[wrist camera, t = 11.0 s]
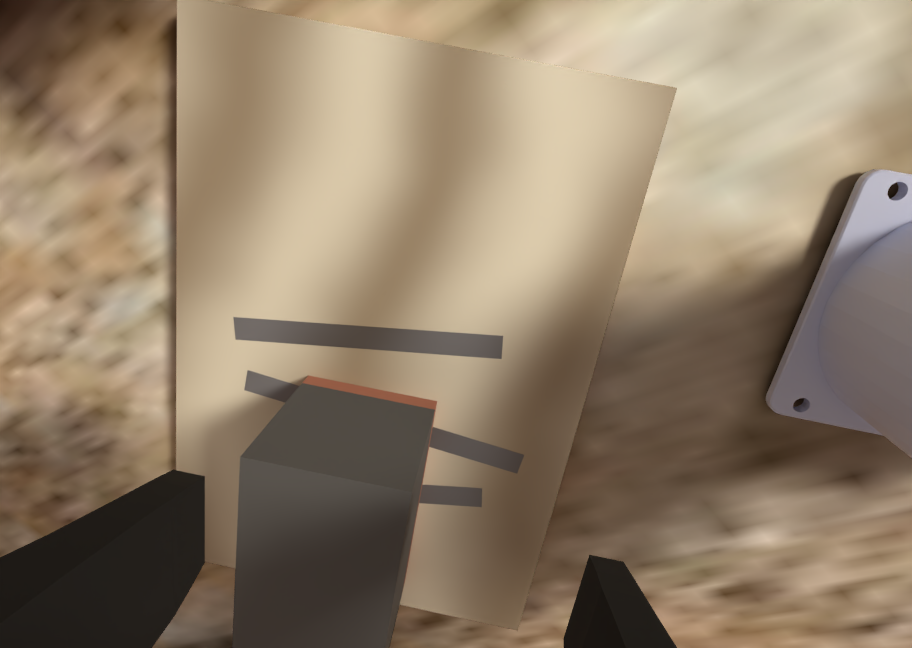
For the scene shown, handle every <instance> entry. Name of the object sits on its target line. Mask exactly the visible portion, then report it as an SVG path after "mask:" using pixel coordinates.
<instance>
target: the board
mask: <svg viewBox="0 0 912 648" xmlns="http://www.w3.org/2000/svg"><path fill="white" fill-rule="evenodd" d="M676 90H677V88H674V87H669V86H664V85H658V84H653V83H648V82H642V81H637V80H632V79H626V78H621V77H615V76H610V75H605V74H599V73H594V72H589V71H583V70H578V69H573V68H567V67H562V66H557V65H551V64H546V63H541V62H535V61H530V60H524V59H519V58H514V57H508V56H503V55H498V54H492V53H487V52H482V51H476V50H471V49H466V48H460V47H455V46H449V45H444V44H439V43H433V42H428V41H423V40H417V39H412V38H407V37H401V36H396V35H391V34H385V33H380V32H375V31H369V30H364V29H358V28H353V27H348V26H342V25H337V24H332V23H326V22H321V21H316V20H310V19H305V18H300V17H294V16H289V15H284V14H278V13H273V12H267V11H262V10H257V9H251V8H246V7H241V6H235V5H230V4H225V3H219V2H214V1H209V0H177V227H176V470H177V471H182V472H187V473H192V474H197V475H202V476H205V562H208V563H212V564H217V565H221V566H226V567H231V568H235V569H236V545H237V520H238V496H239V471H240V456H241V455H242V454H243V453H244V452H245V450H246V449H247V448H248V447H249V446H250V444H251V443H252V442H253V441H254V440H255V438H256V437H257V436H258V435H259V434H260V433H261V431H262V430H263V429H264V428H265V427H266V425H267V424H268V423H269V422H270V421H271V419H272V418H273V417H274V416H275V415H276V413H277V412H278V411H279V410H280V409H281V408H282V406H283V405H284V404H285V403H286V402H287V400H288V399H289V398H290V397H291V396H292V394H293V393H294V392H295V391H296V390H297V388H298V387H299V386H300V385H301V384H302V383H303V381H304V380H305V379H306V378H307V377H308V375H309V376H314V377H319V378H324V379H329V380H334V381H339V382H344V383H349V384H354V385H359V386H364V387H369V388H374V389H379V390H384V391H389V392H394V393H399V394H404V395H409V396H414V397H419V398H424V399H429V400H434V401H437V406H436V411H435V417H434V423H433V428H432V434H431V439H430V445H429V450H428V456H427V462H426V467H425V473H424V478H423V484H422V489H421V495H420V501H419V506H418V512H417V517H416V523H415V529H414V534H413V540H412V545H411V551H410V556H409V562H408V568H407V573H406V579H405V584H404V588H403V592H402V596H401V600H400V605H403V606H408V607H412V608H417V609H422V610H426V611H431V612H435V613H440V614H444V615H449V616H453V617H458V618H462V619H467V620H472V621H476V622H481V623H485V624H490V625H494V626H499V627H503V628H508V629H512V630H517V631H518V628H519V624H520V621H521V617H522V614H523V611H524V607H525V604H526V600H527V597H528V594H529V590H530V587H531V583H532V580H533V577H534V573H535V570H536V566H537V563H538V560H539V556H540V553H541V549H542V546H543V543H544V539H545V536H546V532H547V529H548V525H549V522H550V519H551V515H552V512H553V508H554V505H555V502H556V498H557V495H558V491H559V488H560V485H561V481H562V478H563V474H564V471H565V468H566V464H567V461H568V457H569V454H570V451H571V447H572V444H573V440H574V437H575V434H576V430H577V427H578V423H579V420H580V417H581V413H582V410H583V406H584V403H585V399H586V396H587V393H588V389H589V386H590V382H591V379H592V376H593V372H594V369H595V365H596V362H597V359H598V355H599V352H600V348H601V345H602V342H603V338H604V335H605V331H606V328H607V325H608V321H609V318H610V314H611V311H612V308H613V304H614V301H615V297H616V294H617V290H618V287H619V284H620V280H621V277H622V273H623V270H624V267H625V263H626V260H627V256H628V253H629V250H630V246H631V243H632V239H633V236H634V233H635V229H636V226H637V222H638V219H639V216H640V212H641V209H642V205H643V202H644V199H645V195H646V192H647V188H648V185H649V182H650V178H651V175H652V171H653V168H654V164H655V161H656V158H657V154H658V151H659V147H660V144H661V141H662V137H663V134H664V130H665V127H666V124H667V120H668V117H669V113H670V110H671V107H672V103H673V100H674V96H675V93H676Z"/></svg>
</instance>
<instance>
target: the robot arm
mask: <svg viewBox="0 0 912 648" xmlns="http://www.w3.org/2000/svg"><path fill="white" fill-rule="evenodd" d="M894 183H897V184H898V186H899V188H898V192H897V194H896V195H895V196H894V197H892V198H890V199H889V197H888V195H887V194H888V189H889V188H890V186H891V185H892V184H894ZM800 398H804V402H803V403H802V404H801V405H799V406H797V407H793V403H794V402H795V401H796V400H798V399H800ZM766 402H767V405H768V406H769V407H770V408H771V409H772V410H773V411H774V412H775V413H777V414H780V415H784V416H789V417H794V418H799V419H804V420H809V421H814V422H819V423H824V424H828V425H833V426H838V427H843V428H848V429H853V430H858V431H863V432H868V433H873V434H877V435H882V436H885V437H886V438H887V439H888V440H890V441H891V442H892V443H893V444H895V445H896V446H897V447H898V448H899V449H901V450H902V451H903V452H904V453H906V454H907V455H908V456H909V457H911V458H912V175H911V174H905V173H900V172H895V171H889V170H882V169H873V170H870V171H867V172H865V173H864V174H863V175H862V176H860V177H859V179H858V180H857V182H856V183H855V186H854V188H853V190H852V193H851V195H850V197H849V200H848V202H847V205H846V207H845V209H844V212H843V214H842V216H841V219H840V221H839V224H838V226H837V228H836V231H835V233H834V235H833V238H832V240H831V243H830V245H829V247H828V250H827V252H826V254H825V257H824V259H823V262H822V264H821V266H820V269H819V271H818V273H817V276H816V278H815V281H814V283H813V285H812V288H811V290H810V292H809V295H808V297H807V300H806V302H805V304H804V307H803V309H802V311H801V314H800V316H799V319H798V321H797V323H796V326H795V328H794V331H793V333H792V335H791V338H790V340H789V342H788V345H787V347H786V350H785V352H784V354H783V357H782V359H781V361H780V364H779V366H778V369H777V371H776V373H775V376H774V378H773V380H772V383H771V385H770V388H769V390H768V392H767V395H766ZM204 563H205V476H202V475H197V474H192V473H187V472H182V471H177V470H172V471H170V472H168V473H166V474H164V475H162V476H160V477H158V478H156V479H154V480H152V481H150V482H148V483H146V484H144V485H142V486H140V487H138V488H137V489H135V490H133V491H131V492H129V493H127V494H125V495H123V496H121V497H120V498H118V499H116V500H114V501H112V502H110V503H108V504H106V505H104V506H103V507H101V508H99V509H97V510H95V511H93V512H91V513H89V514H87V515H85V516H83V517H81V518H79V519H78V520H76V521H74V522H72V523H70V524H68V525H66V526H64V527H62V528H60V529H58V530H56V531H54V532H52V533H50V534H48V535H47V536H44V537H42V538H40V539H38V540H36V541H34V542H32V543H30V544H28V545H26V546H24V547H21V548H19V549H17V550H15V551H13V552H11V553H9V554H7V555H5V556H3V557H1V558H0V648H152V647H153V645H154V644H155V642H156V641H157V640H158V638H159V637H160V635H161V634H162V633H163V631H164V630H165V628H166V627H167V626H168V624H169V623H170V621H171V620H172V619H173V617H174V616H175V614H176V612H177V611H178V609H179V607H180V605H181V604H182V602H183V600H184V599H185V597H186V595H187V593H188V592H189V590H190V588H191V586H192V584H193V583H194V581H195V579H196V577H197V575H198V574H199V572H200V570H201V568H202V566H203V564H204ZM564 648H677V647H676V645H675V644H674V642H673V641H672V639H671V638H670V636H669V634H668V633H667V631H666V630H665V628H664V626H663V625H662V623H661V622H660V620H659V618H658V617H657V615H656V614H655V612H654V610H653V609H652V607H651V606H650V604H649V602H648V601H647V599H646V597H645V596H644V594H643V592H642V591H641V589H640V588H639V586H638V584H637V583H636V581H635V579H634V578H633V576H632V575H631V573H630V571H629V570H628V568H627V567H626V565H625V564H624V562H622V561H617V560H612V559H607V558H602V557H597V556H592V555H589V558H588V562H587V565H586V568H585V571H584V575H583V578H582V581H581V584H580V587H579V591H578V594H577V597H576V600H575V604H574V607H573V610H572V613H571V616H570V620H569V623H568V626H567V629H566V633H565V636H564Z"/></svg>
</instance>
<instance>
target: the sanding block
mask: <svg viewBox="0 0 912 648" xmlns="http://www.w3.org/2000/svg"><path fill="white" fill-rule="evenodd" d="M436 406H437V401H434V400H429V399H424V398H419V397H414V396H409V395H404V394H399V393H394V392H389V391H384V390H379V389H374V388H369V387H364V386H359V385H354V384H349V383H344V382H339V381H334V380H329V379H324V378H319V377H314V376H309V375H308V377H307V378H306V379H305V380H304V381H303V383H302V384H301V385H300V386H299V387H298V388H297V390H296V391H295V392H294V393H293V394H292V396H291V397H290V398H289V399H288V400H287V402H286V403H285V404H284V405H283V406H282V408H281V409H280V410H279V411H278V412H277V413H276V415H275V416H274V417H273V418H272V419H271V421H270V422H269V423H268V424H267V425H266V427H265V428H264V429H263V430H262V431H261V433H260V434H259V435H258V436H257V437H256V438H255V440H254V441H253V442H252V443H251V444H250V446H249V447H248V448H247V449H246V450H245V452H244V453H243V454H242V455H241V456H240V471H239V496H238V520H237V545H236V569H235V594H234V618H233V643H232V648H389V646H390V642H391V638H392V634H393V630H394V625H395V621H396V617H397V613H398V609H399V605H400V600H401V596H402V592H403V588H404V584H405V579H406V573H407V568H408V562H409V556H410V551H411V545H412V540H413V534H414V529H415V523H416V517H417V512H418V506H419V501H420V495H421V489H422V484H423V478H424V473H425V467H426V462H427V456H428V450H429V445H430V439H431V434H432V428H433V423H434V417H435V411H436Z"/></svg>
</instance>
